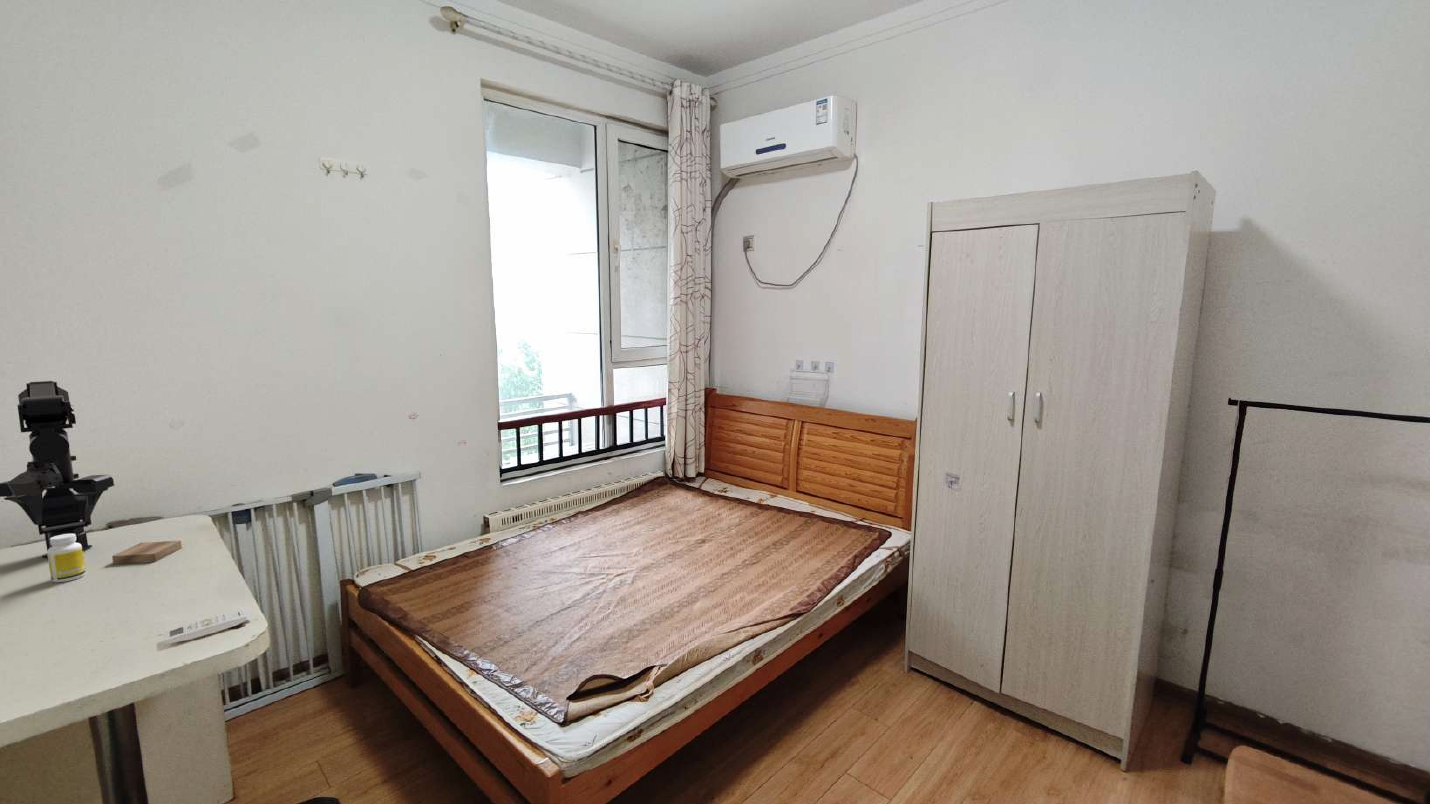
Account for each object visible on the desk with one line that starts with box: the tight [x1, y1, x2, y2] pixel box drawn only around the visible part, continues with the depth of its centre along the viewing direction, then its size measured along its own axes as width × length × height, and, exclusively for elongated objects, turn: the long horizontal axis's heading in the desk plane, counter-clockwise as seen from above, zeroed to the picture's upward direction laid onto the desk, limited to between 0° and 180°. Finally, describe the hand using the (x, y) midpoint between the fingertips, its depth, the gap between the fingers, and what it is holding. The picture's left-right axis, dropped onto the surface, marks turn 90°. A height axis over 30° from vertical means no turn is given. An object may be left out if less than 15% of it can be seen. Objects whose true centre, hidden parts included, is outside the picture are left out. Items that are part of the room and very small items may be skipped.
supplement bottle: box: [46, 534, 86, 583], centre depth 138 cm, size 5×5×10 cm
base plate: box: [112, 540, 182, 565], centre depth 152 cm, size 9×9×2 cm
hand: (61, 523), depth 138 cm, fingers open, 9 cm apart
